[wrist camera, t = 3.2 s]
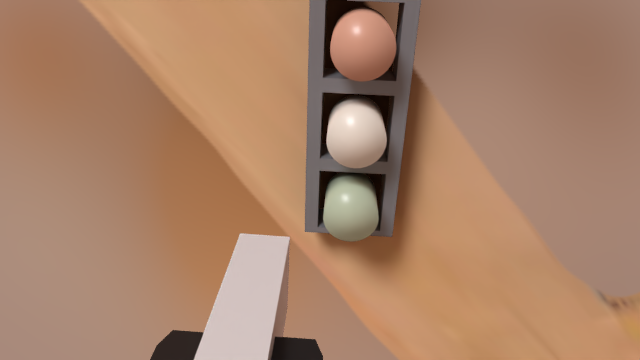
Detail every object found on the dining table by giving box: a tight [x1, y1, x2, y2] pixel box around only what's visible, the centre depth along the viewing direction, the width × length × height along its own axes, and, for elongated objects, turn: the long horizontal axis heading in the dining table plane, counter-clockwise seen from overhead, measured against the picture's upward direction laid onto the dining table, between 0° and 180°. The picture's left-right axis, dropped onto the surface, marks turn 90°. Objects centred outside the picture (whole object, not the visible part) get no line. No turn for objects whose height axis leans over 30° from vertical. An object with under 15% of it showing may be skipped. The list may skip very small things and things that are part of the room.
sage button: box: [323, 172, 379, 241], centre depth 35 cm, size 4×4×4 cm
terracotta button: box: [330, 7, 396, 82], centre depth 30 cm, size 4×4×4 cm
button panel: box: [305, 0, 421, 237], centre depth 34 cm, size 18×7×3 cm, turn 177°
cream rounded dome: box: [326, 95, 387, 168], centre depth 32 cm, size 4×4×4 cm
